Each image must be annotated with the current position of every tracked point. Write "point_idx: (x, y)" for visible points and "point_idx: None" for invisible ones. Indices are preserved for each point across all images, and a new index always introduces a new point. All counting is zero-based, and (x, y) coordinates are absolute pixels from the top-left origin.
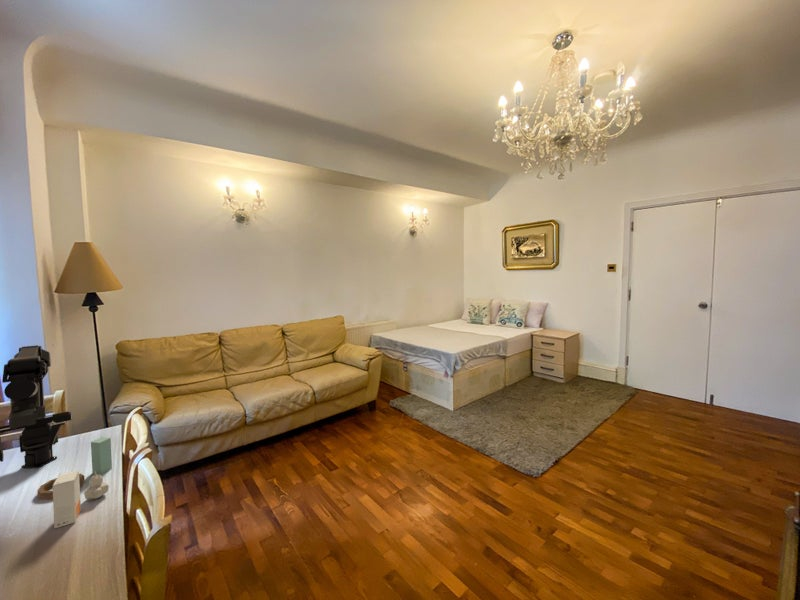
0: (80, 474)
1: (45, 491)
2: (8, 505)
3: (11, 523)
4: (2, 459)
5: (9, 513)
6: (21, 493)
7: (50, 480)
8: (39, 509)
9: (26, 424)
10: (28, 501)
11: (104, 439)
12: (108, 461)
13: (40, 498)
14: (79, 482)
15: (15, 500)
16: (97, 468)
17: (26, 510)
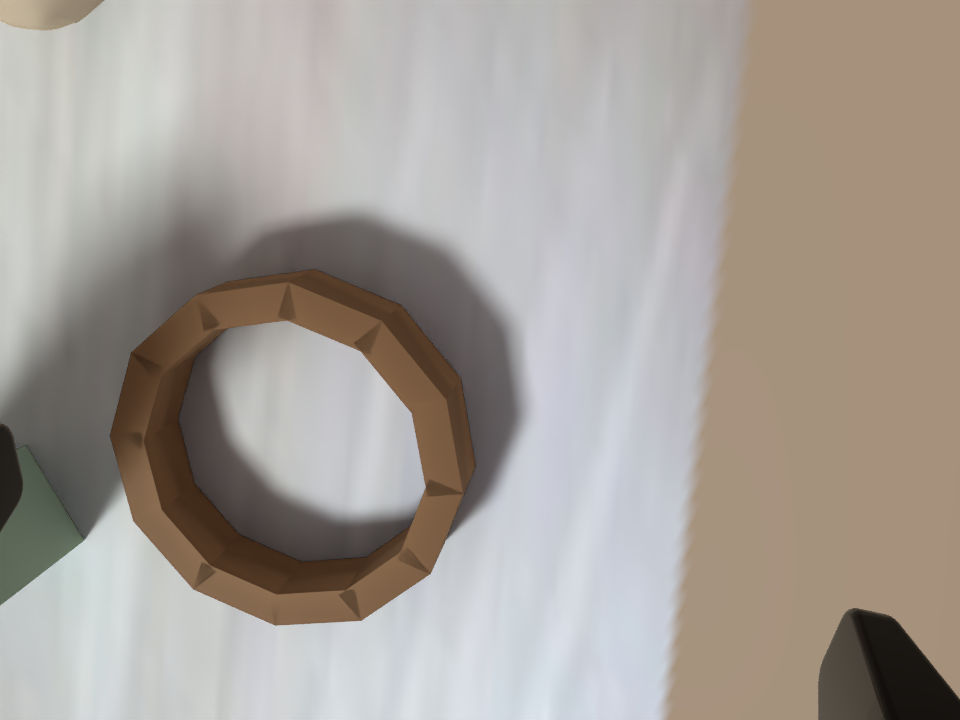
0: (136, 501)
1: (410, 393)
2: (673, 515)
3: (704, 78)
4: (860, 636)
5: (688, 330)
6: (567, 668)
7: (355, 618)
8: (492, 160)
9: None
10: (543, 440)
11: None
12: None
13: (462, 394)
14: (158, 333)
15: (619, 567)
16: None
17: (577, 252)
